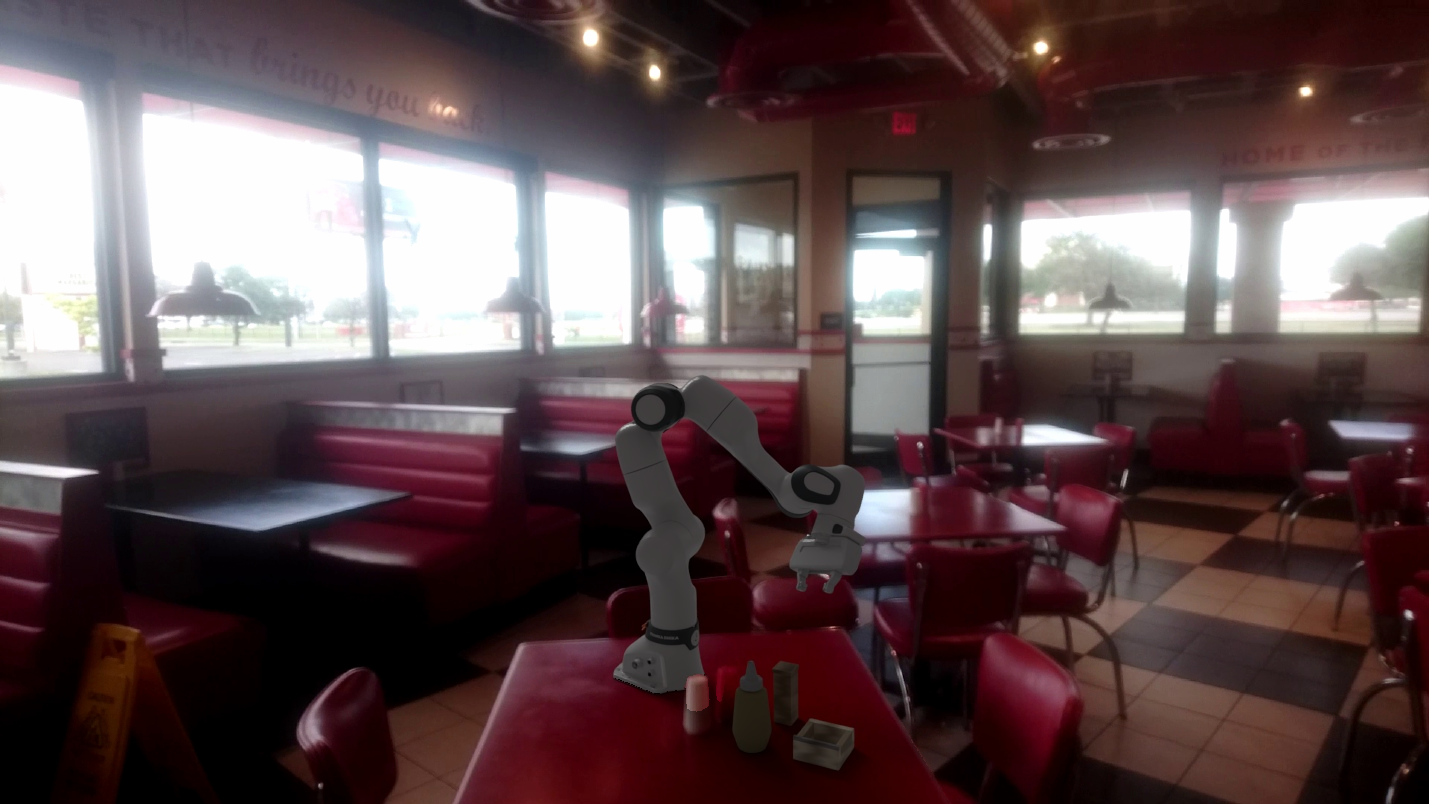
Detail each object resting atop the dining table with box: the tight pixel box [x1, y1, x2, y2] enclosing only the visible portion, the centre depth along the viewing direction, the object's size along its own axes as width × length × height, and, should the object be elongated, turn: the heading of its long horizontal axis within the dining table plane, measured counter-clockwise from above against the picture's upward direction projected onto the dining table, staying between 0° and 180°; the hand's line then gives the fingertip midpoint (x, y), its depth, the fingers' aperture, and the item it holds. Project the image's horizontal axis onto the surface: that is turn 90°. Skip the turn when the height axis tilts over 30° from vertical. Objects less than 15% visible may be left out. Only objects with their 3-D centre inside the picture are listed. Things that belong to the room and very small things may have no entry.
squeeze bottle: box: [731, 660, 772, 754], centre depth 165 cm, size 8×8×18 cm
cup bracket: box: [792, 718, 855, 771], centre depth 163 cm, size 9×9×5 cm
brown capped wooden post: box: [771, 660, 800, 727], centre depth 176 cm, size 4×4×12 cm
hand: (813, 591), depth 181 cm, fingers open, 8 cm apart
